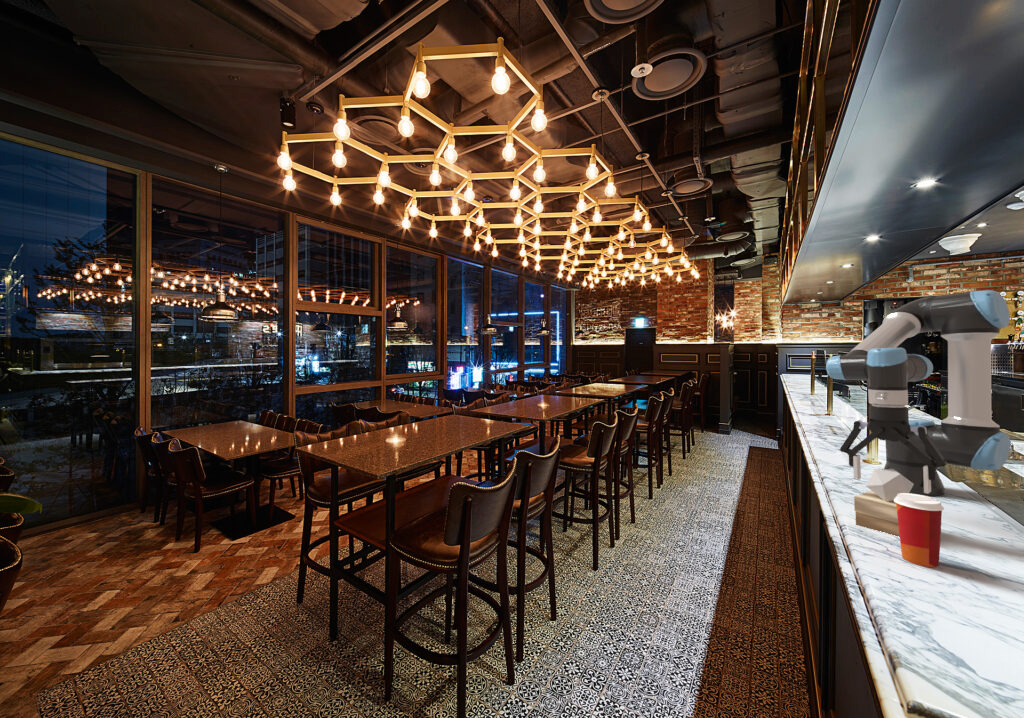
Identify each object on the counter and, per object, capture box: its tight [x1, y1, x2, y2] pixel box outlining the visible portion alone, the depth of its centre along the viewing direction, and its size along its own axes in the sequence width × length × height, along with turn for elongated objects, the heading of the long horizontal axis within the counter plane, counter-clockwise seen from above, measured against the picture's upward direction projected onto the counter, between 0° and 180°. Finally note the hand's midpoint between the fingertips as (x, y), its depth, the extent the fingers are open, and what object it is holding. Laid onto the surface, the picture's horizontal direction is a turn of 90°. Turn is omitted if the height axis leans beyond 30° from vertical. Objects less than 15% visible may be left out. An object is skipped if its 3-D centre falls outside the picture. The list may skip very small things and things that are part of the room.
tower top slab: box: [853, 490, 898, 523], centre depth 102 cm, size 11×11×4 cm
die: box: [865, 468, 914, 502], centre depth 102 cm, size 8×9×10 cm
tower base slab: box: [855, 511, 900, 538], centre depth 102 cm, size 11×11×4 cm
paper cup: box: [894, 493, 945, 569], centre depth 85 cm, size 8×8×14 cm
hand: (890, 485), depth 102 cm, fingers open, 13 cm apart
